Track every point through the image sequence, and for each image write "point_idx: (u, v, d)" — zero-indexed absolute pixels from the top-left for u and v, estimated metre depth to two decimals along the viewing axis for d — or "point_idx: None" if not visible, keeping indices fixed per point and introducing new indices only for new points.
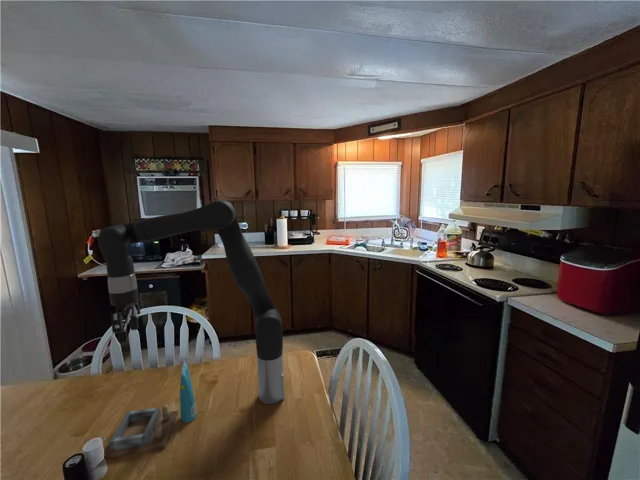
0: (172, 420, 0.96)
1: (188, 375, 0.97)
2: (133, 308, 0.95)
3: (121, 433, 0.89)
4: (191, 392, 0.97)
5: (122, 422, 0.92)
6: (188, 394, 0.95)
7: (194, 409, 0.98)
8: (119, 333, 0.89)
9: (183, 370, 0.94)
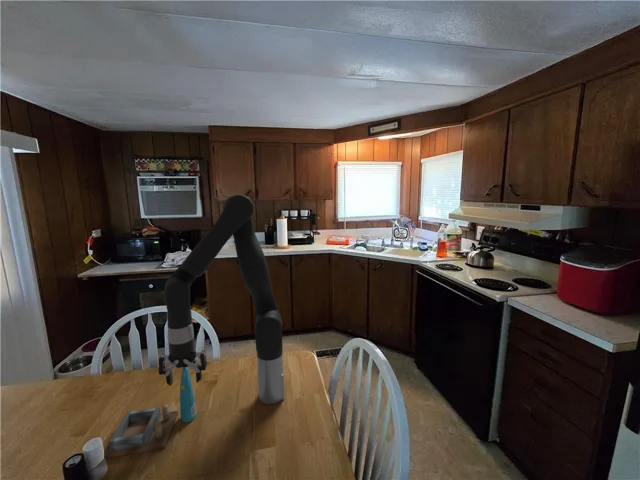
0: (172, 420, 0.96)
1: (188, 375, 0.97)
2: None
3: (121, 433, 0.89)
4: (191, 392, 0.97)
5: (122, 422, 0.92)
6: (188, 394, 0.95)
7: (194, 409, 0.98)
8: None
9: (183, 370, 0.94)
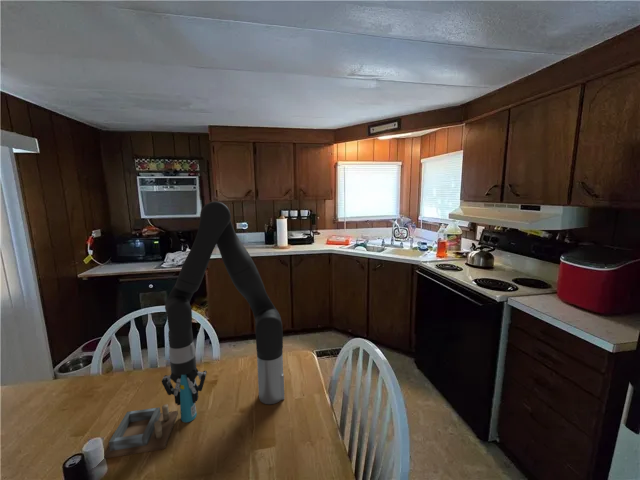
0: (172, 420, 0.96)
1: None
2: None
3: (121, 433, 0.89)
4: (191, 392, 0.97)
5: (122, 422, 0.92)
6: (188, 394, 0.95)
7: (194, 409, 0.98)
8: None
9: None
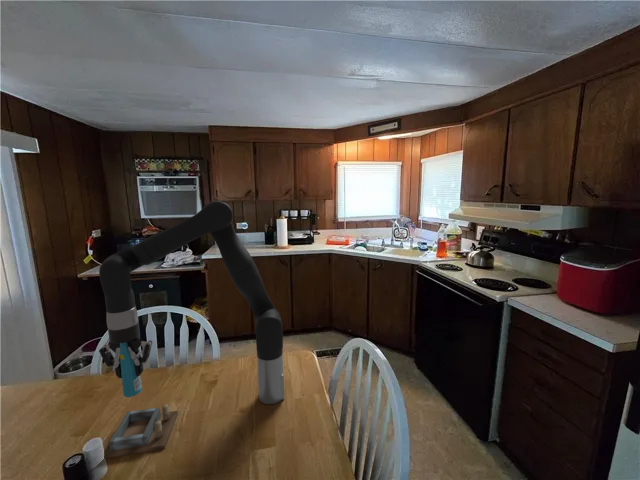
0: (172, 420, 0.96)
1: None
2: None
3: (121, 433, 0.89)
4: (134, 364, 0.87)
5: (122, 422, 0.92)
6: (130, 365, 0.86)
7: (138, 383, 0.89)
8: (141, 364, 0.88)
9: None
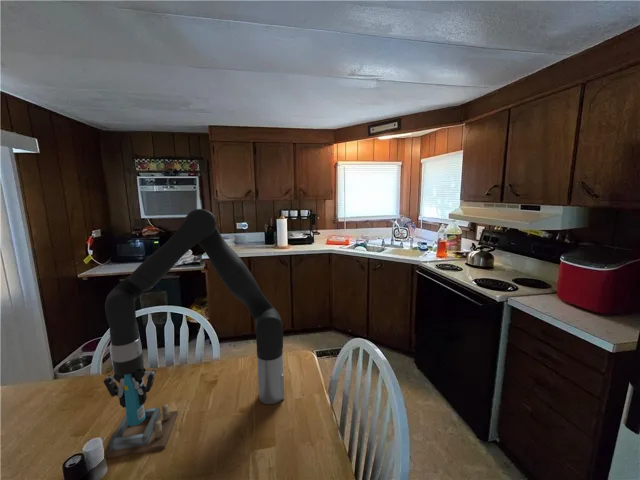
0: (172, 420, 0.96)
1: None
2: None
3: (121, 433, 0.89)
4: (138, 393, 0.89)
5: (122, 422, 0.92)
6: (133, 395, 0.87)
7: (142, 412, 0.90)
8: (144, 393, 0.90)
9: None
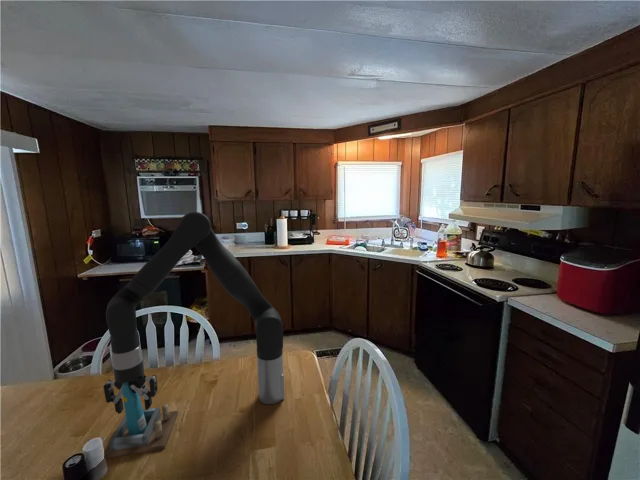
0: (172, 420, 0.96)
1: None
2: None
3: (121, 433, 0.89)
4: (137, 404, 0.90)
5: (122, 422, 0.92)
6: (133, 406, 0.88)
7: (143, 422, 0.91)
8: (150, 398, 0.90)
9: None
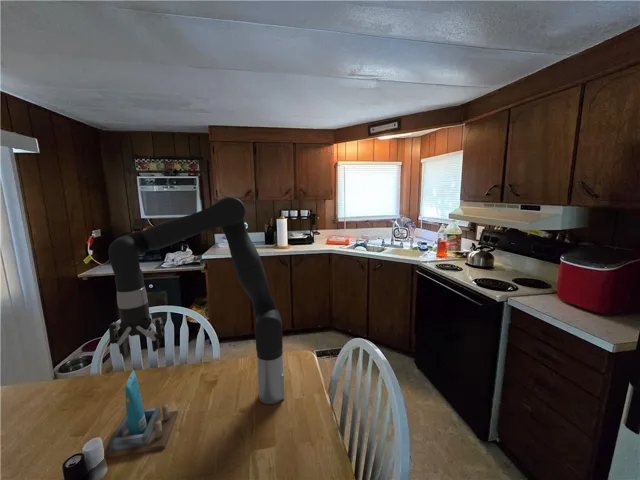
0: (172, 420, 0.96)
1: (136, 386, 0.90)
2: None
3: (121, 433, 0.89)
4: (139, 405, 0.90)
5: (122, 422, 0.92)
6: (135, 407, 0.88)
7: (143, 423, 0.91)
8: (157, 339, 0.90)
9: (128, 381, 0.87)
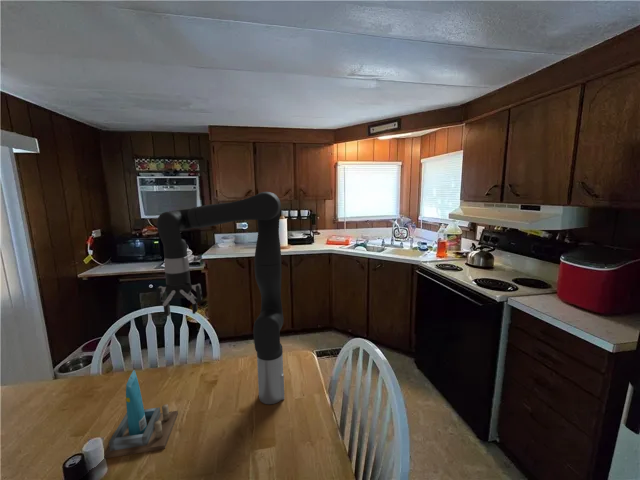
0: (172, 420, 0.96)
1: (136, 386, 0.90)
2: None
3: (121, 433, 0.89)
4: (139, 405, 0.90)
5: (122, 422, 0.92)
6: (135, 407, 0.88)
7: (143, 423, 0.91)
8: (196, 303, 1.03)
9: (129, 381, 0.87)
